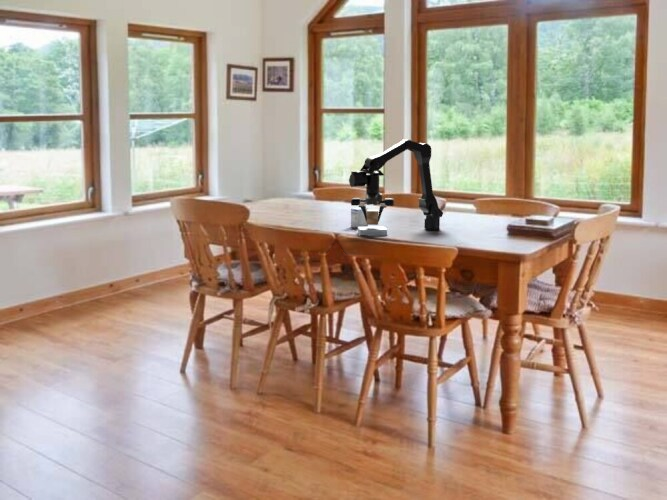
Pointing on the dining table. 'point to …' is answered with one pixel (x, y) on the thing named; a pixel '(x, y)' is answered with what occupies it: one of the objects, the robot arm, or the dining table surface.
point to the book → (372, 231)
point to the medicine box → (358, 218)
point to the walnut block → (372, 217)
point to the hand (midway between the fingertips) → (372, 221)
